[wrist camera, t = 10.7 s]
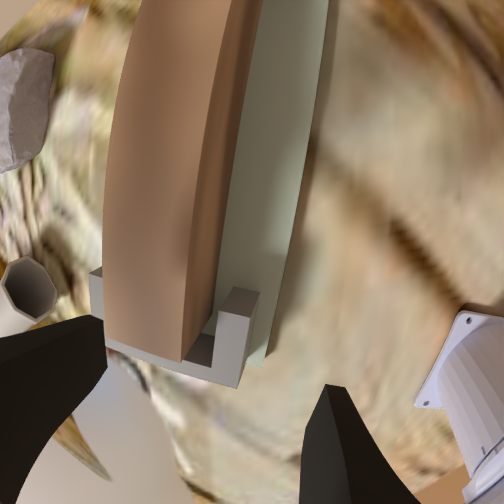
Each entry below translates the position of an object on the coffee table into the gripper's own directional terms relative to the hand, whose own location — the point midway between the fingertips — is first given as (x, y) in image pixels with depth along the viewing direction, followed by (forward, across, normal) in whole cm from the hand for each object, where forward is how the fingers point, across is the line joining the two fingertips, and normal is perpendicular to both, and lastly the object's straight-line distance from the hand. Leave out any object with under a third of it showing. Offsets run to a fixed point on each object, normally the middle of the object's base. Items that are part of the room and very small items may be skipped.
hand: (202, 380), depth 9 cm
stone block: (+10, +23, -8) cm, 27 cm away
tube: (+10, +26, +13) cm, 30 cm away
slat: (+8, +4, -8) cm, 13 cm away
